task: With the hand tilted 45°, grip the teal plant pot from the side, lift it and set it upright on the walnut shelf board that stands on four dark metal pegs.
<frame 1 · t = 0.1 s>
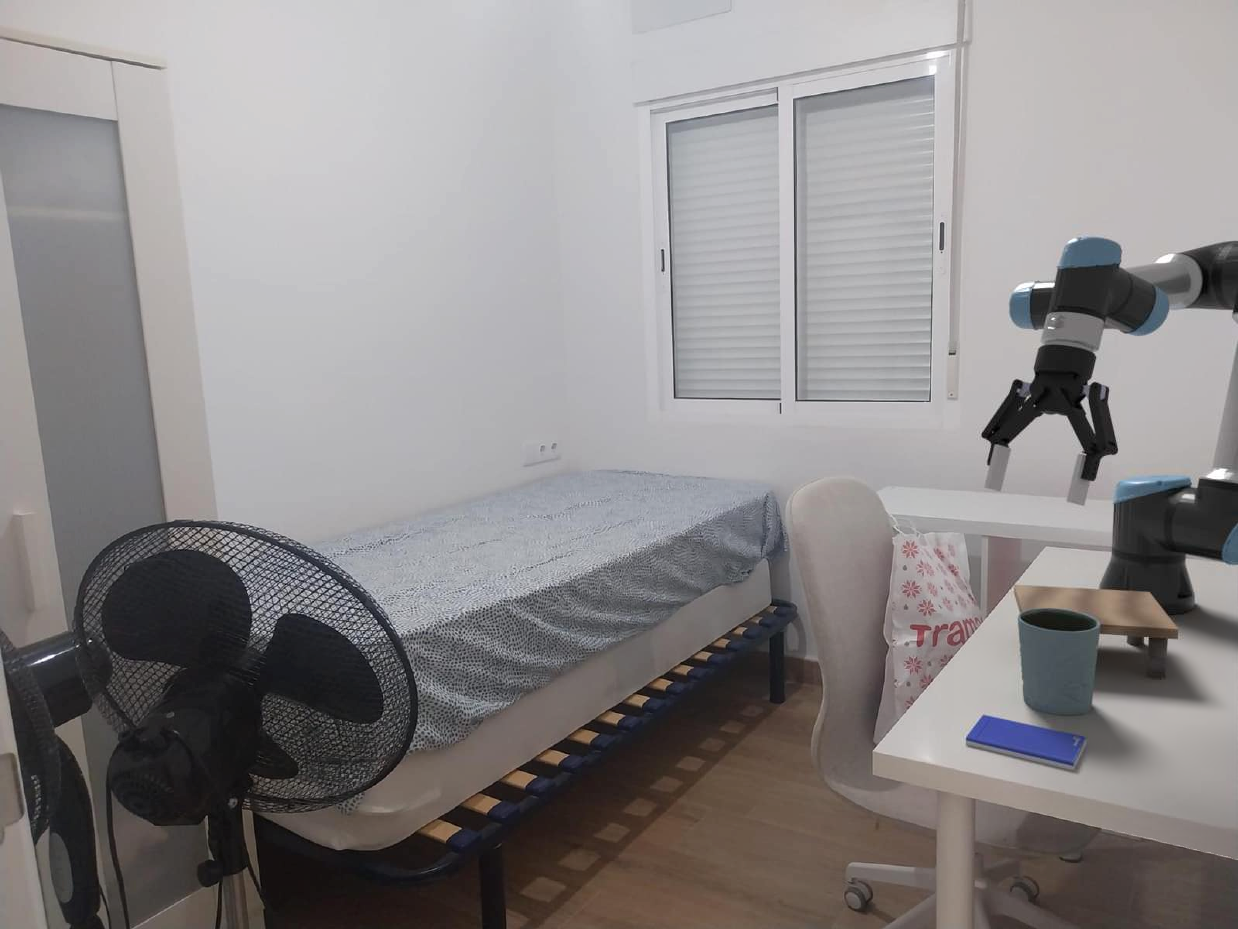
hand: (1031, 496, 127), 28 cm above the table, tool tilted 20°, fingers open, 13 cm apart
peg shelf: (1087, 654, 142), on the table
hard drive: (1025, 749, 114), on the table
teal plant pot: (1054, 703, 126), on the table
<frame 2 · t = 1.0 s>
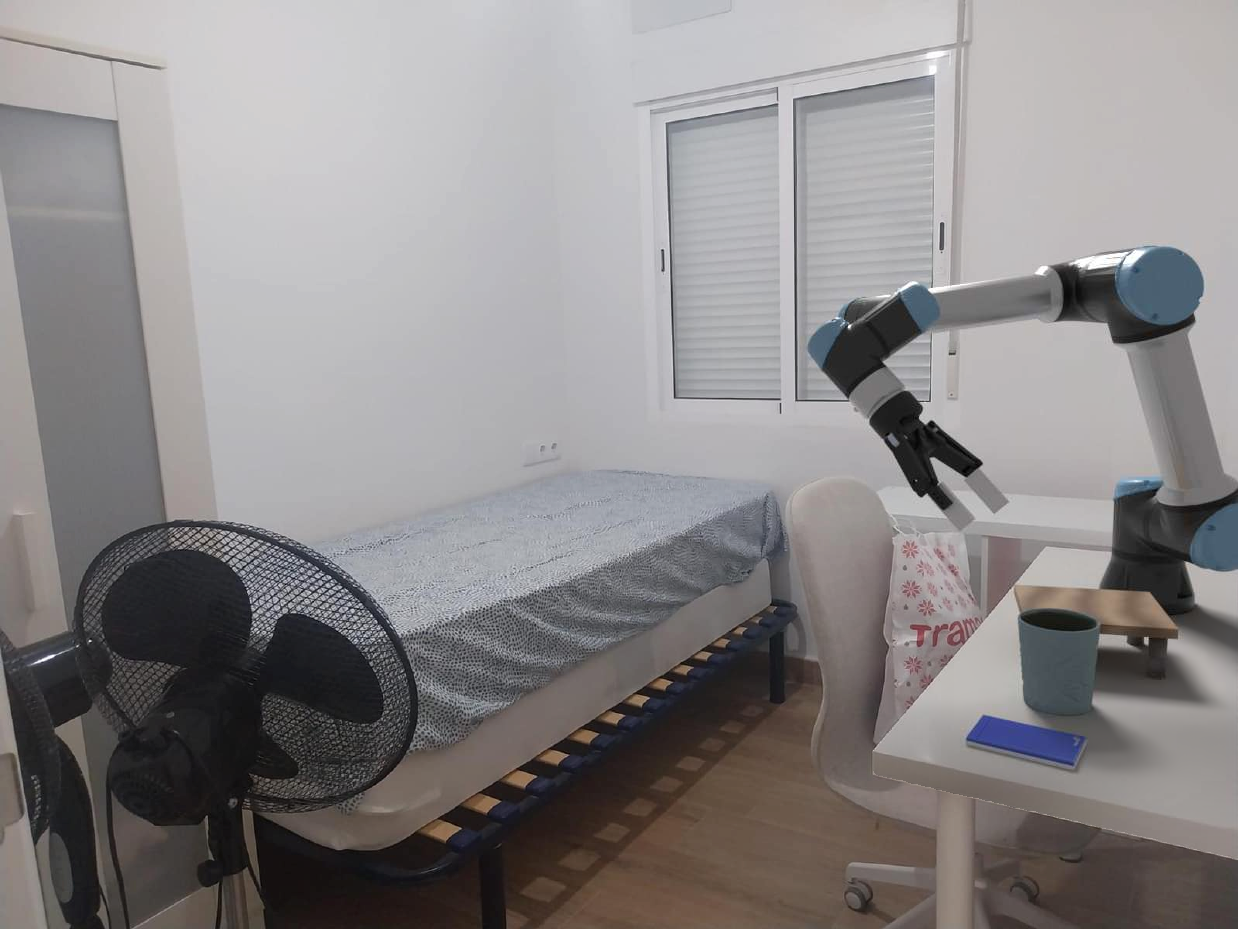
hand: (985, 516, 128), 25 cm above the table, tool tilted 45°, fingers open, 13 cm apart
nothing on the table moved.
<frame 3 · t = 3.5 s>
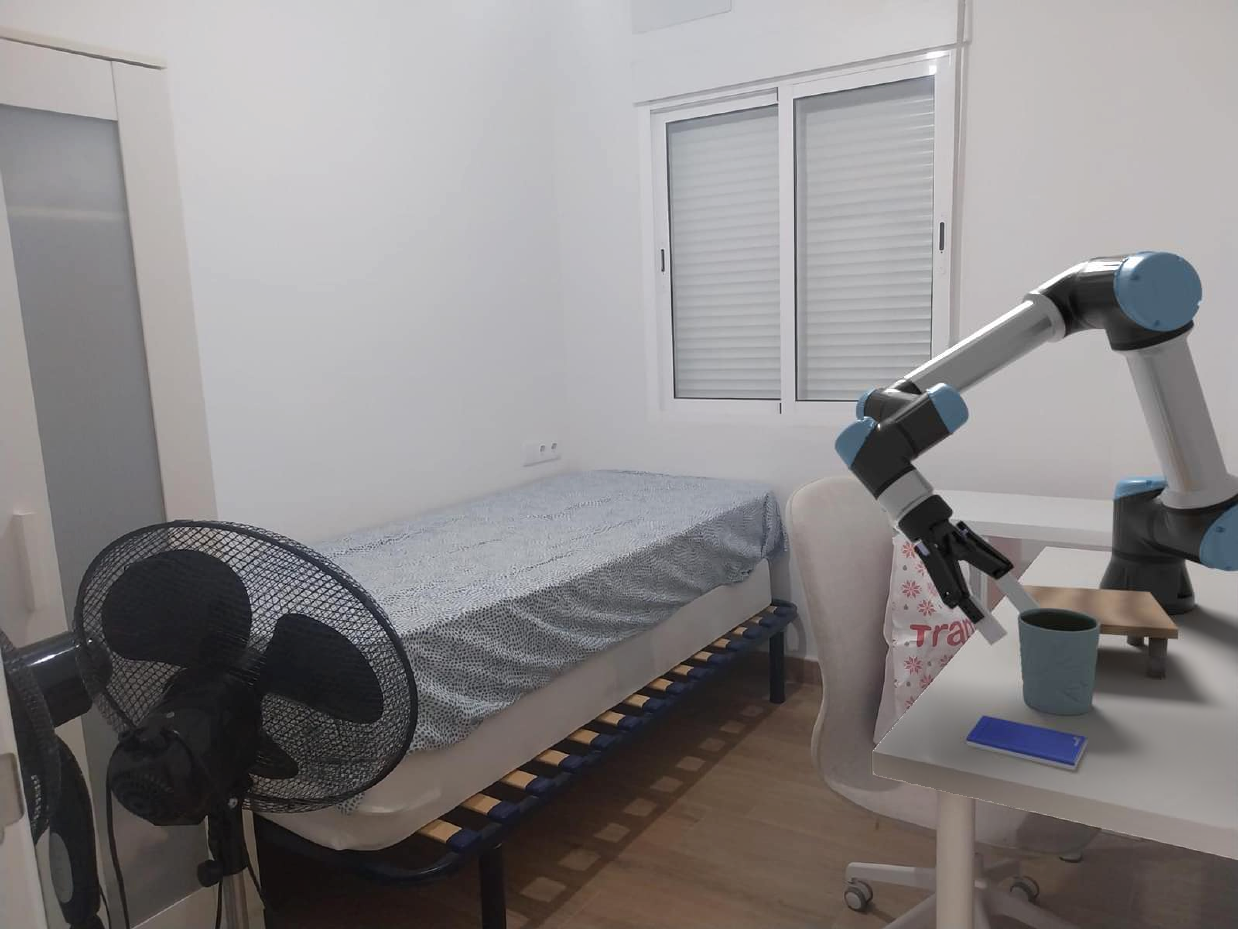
hand: (1017, 626, 127), 10 cm above the table, tool tilted 45°, fingers open, 13 cm apart
nothing on the table moved.
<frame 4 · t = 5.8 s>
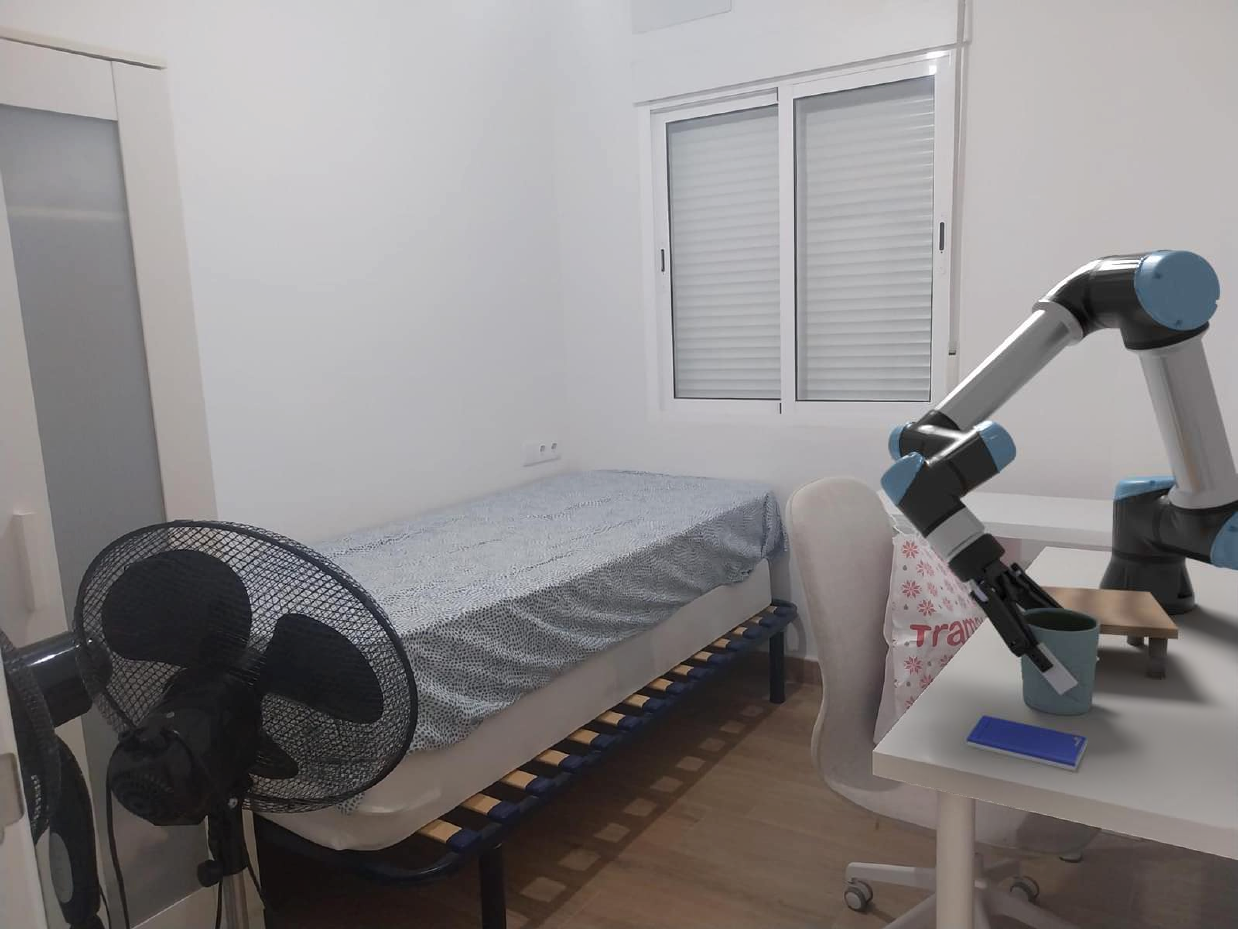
hand: (1080, 676, 123), 4 cm above the table, tool tilted 45°, fingers closed on teal plant pot, 10 cm apart
teal plant pot: (1054, 703, 126), on the table, touching gripper
everything else where it was.
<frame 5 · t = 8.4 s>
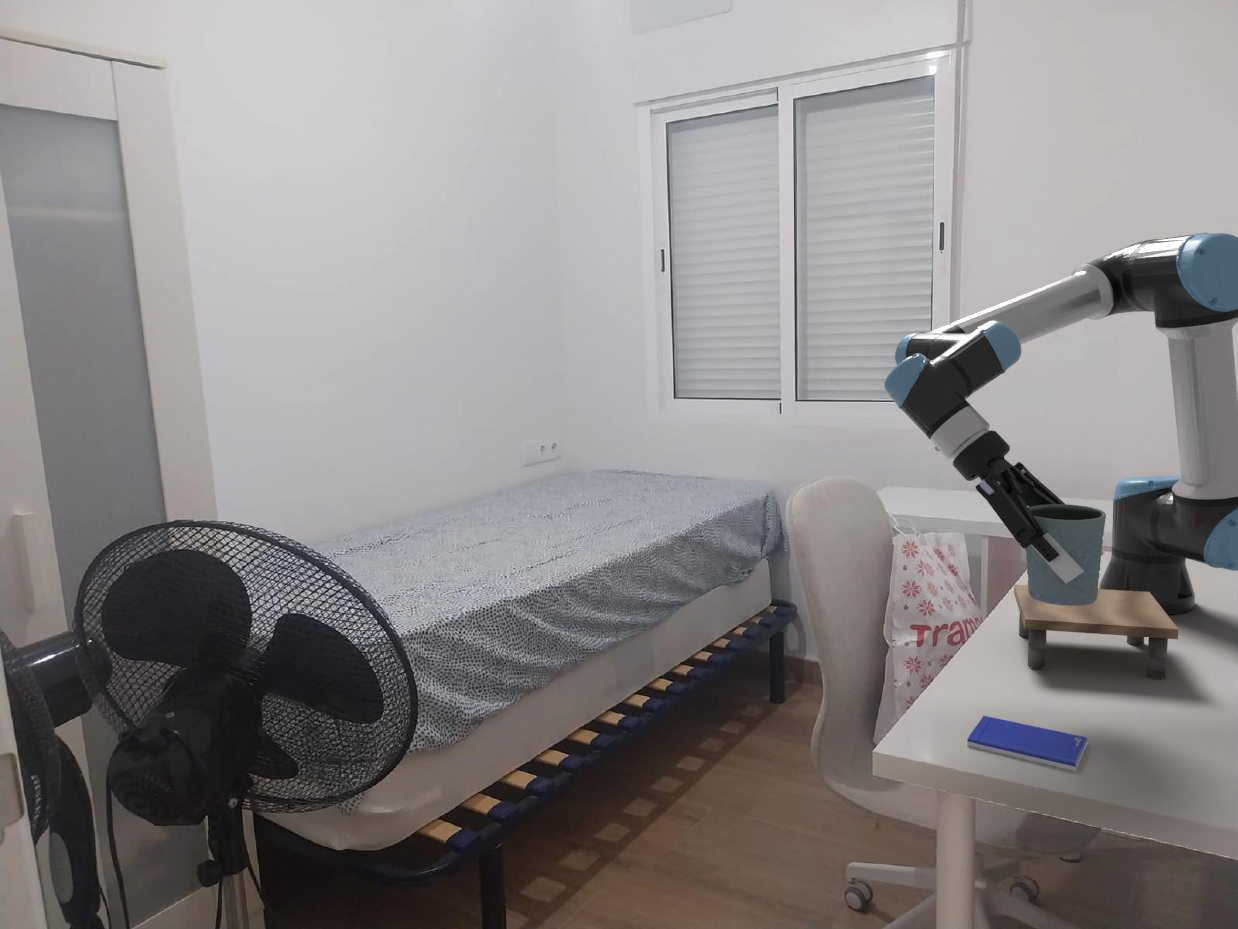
hand: (1085, 568, 123), 19 cm above the table, tool tilted 45°, fingers closed on teal plant pot, 10 cm apart
teal plant pot: (1060, 597, 126), point 14 cm above the table, touching gripper
everything else where it was.
when the fingers open (14 cm above the table, at t = 11.4 s): teal plant pot drops 1 cm, resting on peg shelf.
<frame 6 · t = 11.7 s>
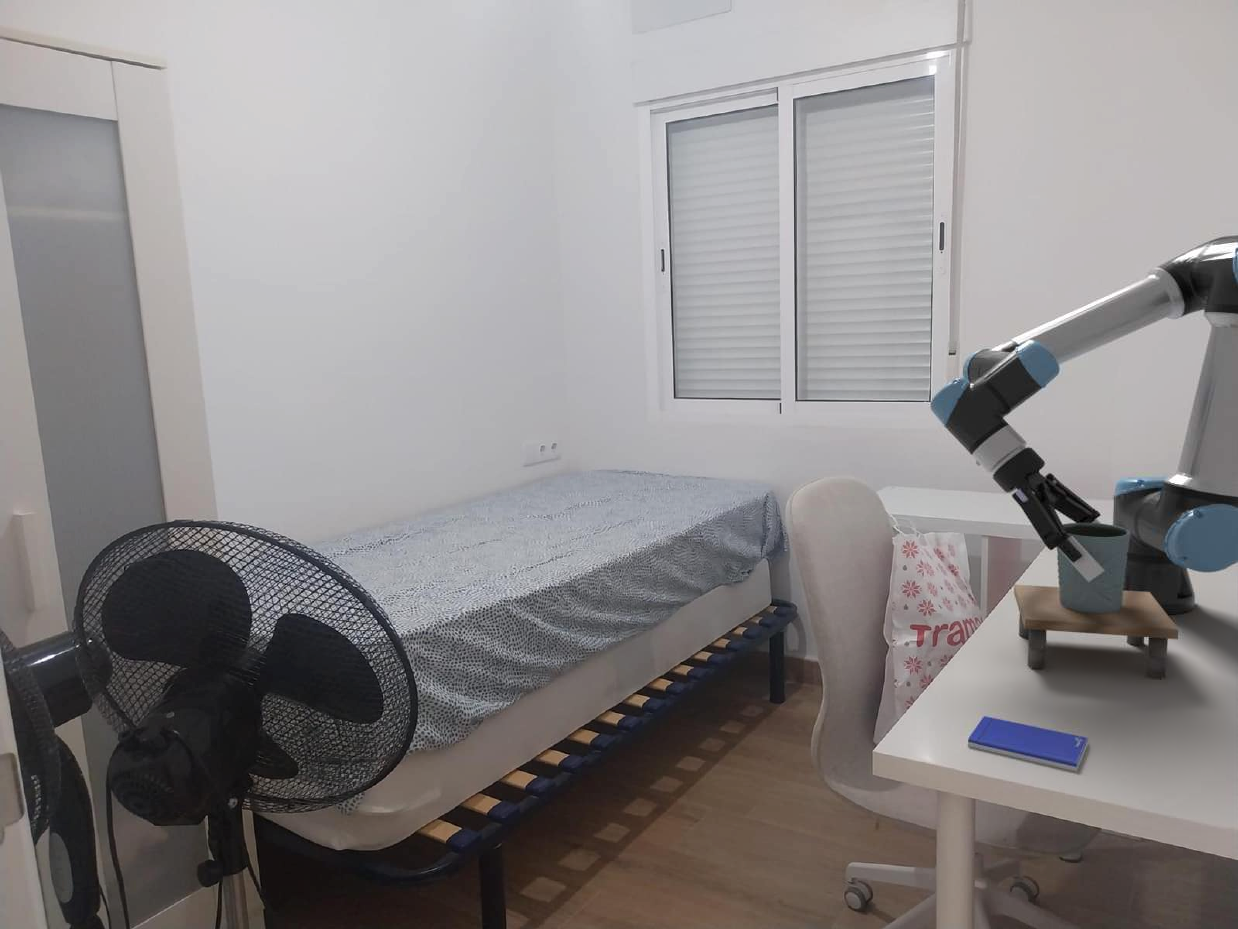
hand: (1108, 566, 138), 15 cm above the table, tool tilted 45°, fingers open, 13 cm apart
teal plant pot: (1088, 606, 141), point 8 cm above the table, touching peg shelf
everything else where it was.
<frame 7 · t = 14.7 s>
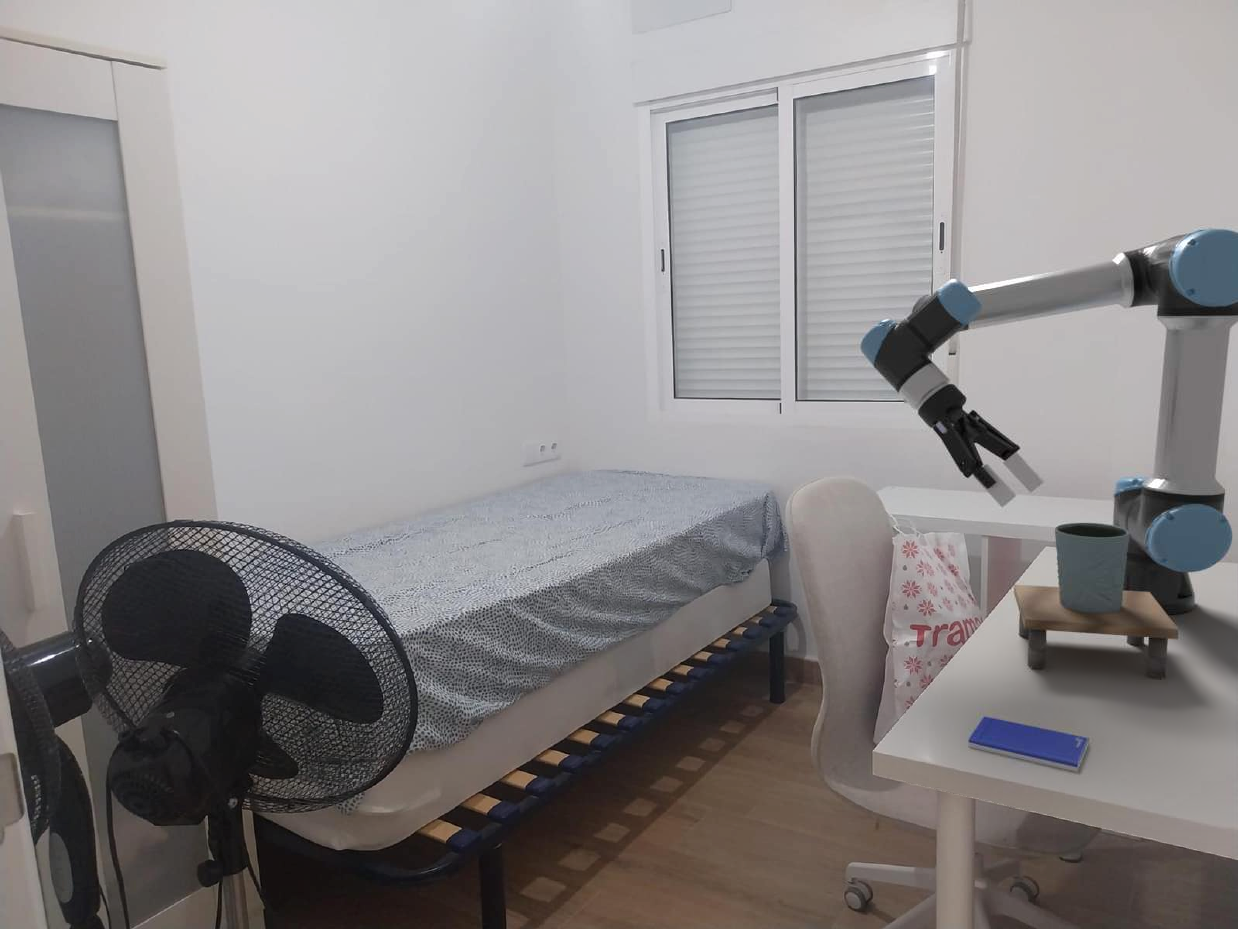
hand: (1024, 494, 145), 24 cm above the table, tool tilted 45°, fingers open, 13 cm apart
nothing on the table moved.
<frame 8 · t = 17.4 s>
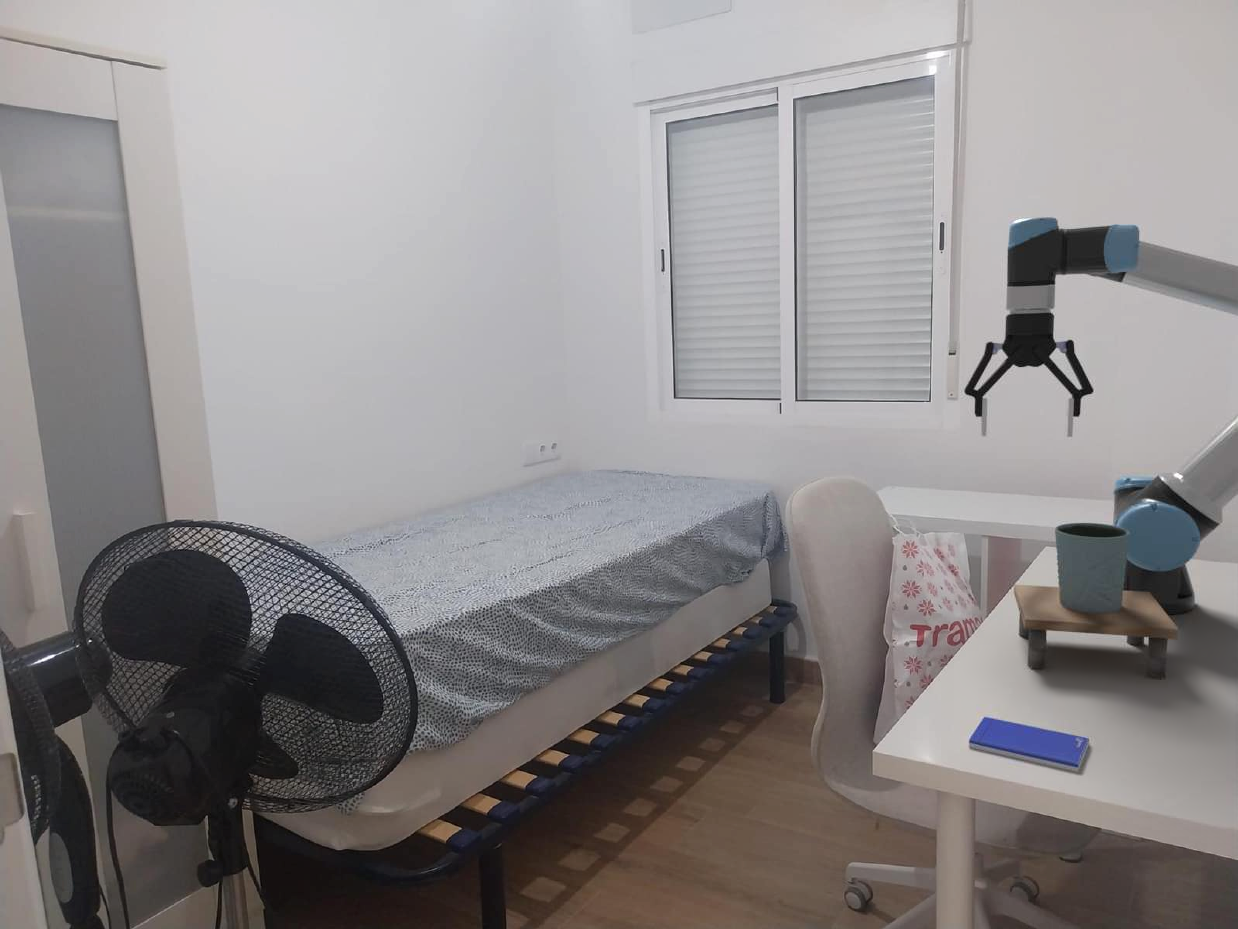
hand: (1025, 435, 158), 32 cm above the table, tool pointing down, fingers open, 13 cm apart
nothing on the table moved.
at the end: teal plant pot inside the target area on the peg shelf (0.2 cm from its centre), point 7.8 cm above the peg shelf's base; teal plant pot tilted 0°; the gripper is holding nothing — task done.
